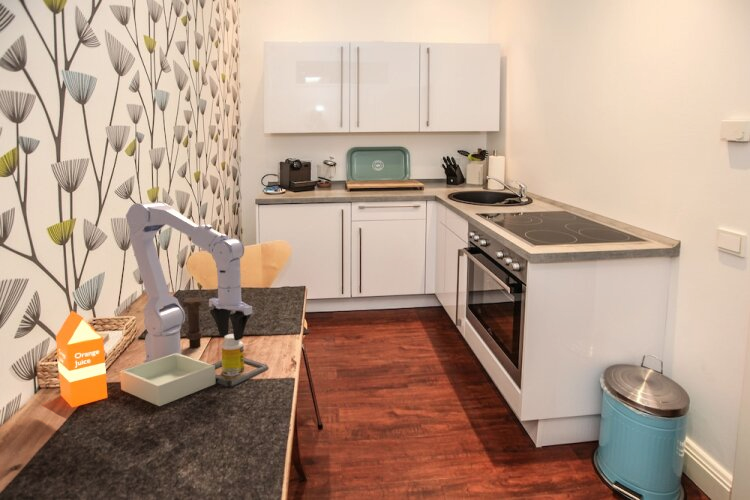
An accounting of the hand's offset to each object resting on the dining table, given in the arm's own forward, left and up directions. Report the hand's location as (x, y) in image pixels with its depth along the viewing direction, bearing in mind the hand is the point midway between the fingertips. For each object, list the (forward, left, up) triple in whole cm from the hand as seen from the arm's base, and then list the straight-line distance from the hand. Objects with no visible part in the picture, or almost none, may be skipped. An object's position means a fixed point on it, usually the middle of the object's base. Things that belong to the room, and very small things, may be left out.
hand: (231, 337), depth 138 cm
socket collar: (0, 0, -10) cm, 10 cm away
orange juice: (-17, -30, -10) cm, 36 cm away
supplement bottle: (0, 0, -10) cm, 10 cm away
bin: (-6, -15, -10) cm, 19 cm away
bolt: (-24, +6, -10) cm, 27 cm away
